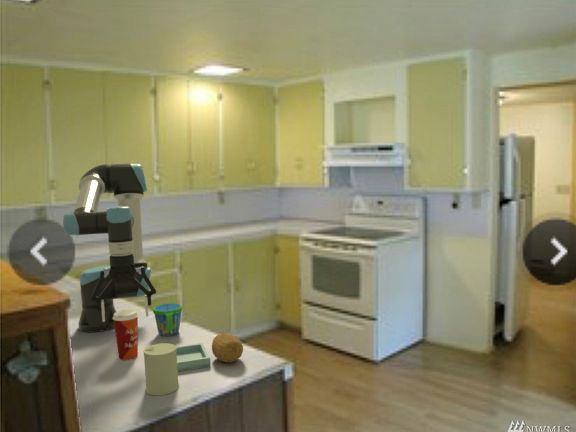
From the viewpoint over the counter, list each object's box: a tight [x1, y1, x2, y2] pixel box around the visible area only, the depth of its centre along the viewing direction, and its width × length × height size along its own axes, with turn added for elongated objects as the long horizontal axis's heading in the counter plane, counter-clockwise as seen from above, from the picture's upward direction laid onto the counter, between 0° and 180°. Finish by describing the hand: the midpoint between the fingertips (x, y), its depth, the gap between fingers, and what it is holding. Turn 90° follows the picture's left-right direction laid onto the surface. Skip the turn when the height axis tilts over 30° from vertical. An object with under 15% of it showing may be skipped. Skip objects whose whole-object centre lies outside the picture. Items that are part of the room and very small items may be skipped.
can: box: [143, 342, 180, 396], centre depth 144 cm, size 9×9×12 cm
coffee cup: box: [112, 309, 140, 361], centre depth 168 cm, size 8×8×15 cm
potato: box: [211, 332, 244, 363], centre depth 163 cm, size 10×14×8 cm
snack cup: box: [152, 302, 183, 337], centre depth 190 cm, size 16×10×10 cm
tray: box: [176, 342, 211, 373], centre depth 163 cm, size 14×13×3 cm
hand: (125, 318), depth 167 cm, fingers open, 13 cm apart
